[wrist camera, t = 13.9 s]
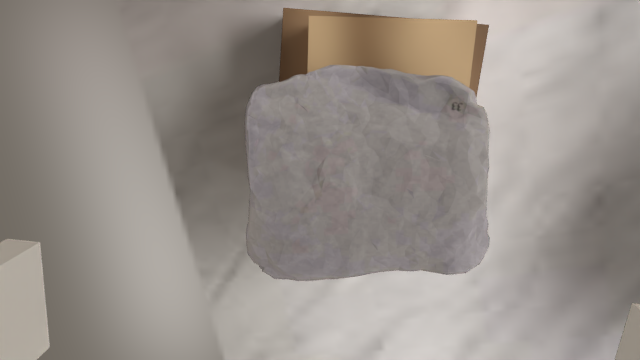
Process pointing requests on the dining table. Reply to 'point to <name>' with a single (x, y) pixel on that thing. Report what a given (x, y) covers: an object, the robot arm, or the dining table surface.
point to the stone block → (366, 174)
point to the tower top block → (394, 44)
